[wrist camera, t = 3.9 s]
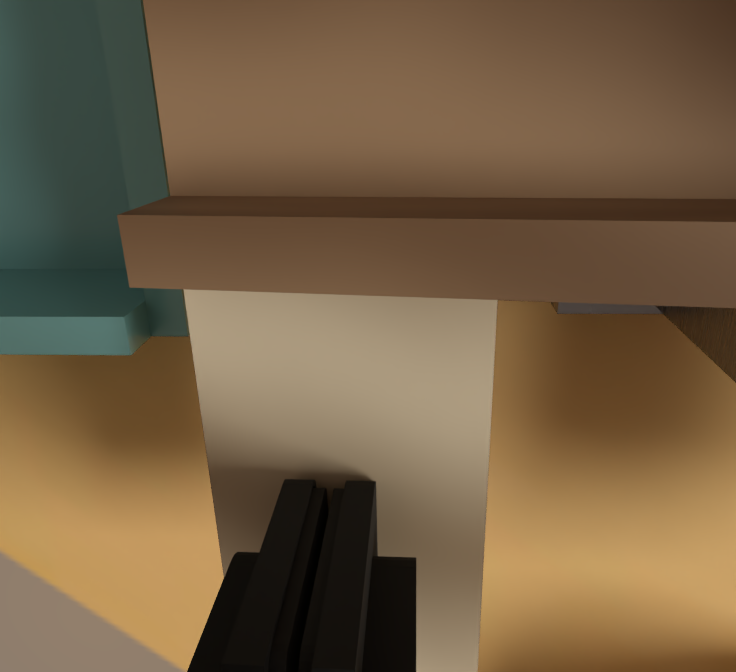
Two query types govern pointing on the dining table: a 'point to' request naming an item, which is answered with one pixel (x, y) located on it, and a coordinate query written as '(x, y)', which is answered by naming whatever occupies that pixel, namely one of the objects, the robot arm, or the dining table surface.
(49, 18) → the teal tray
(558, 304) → the lever stand
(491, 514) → the dining table surface
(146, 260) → the walnut lever
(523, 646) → the dining table surface
